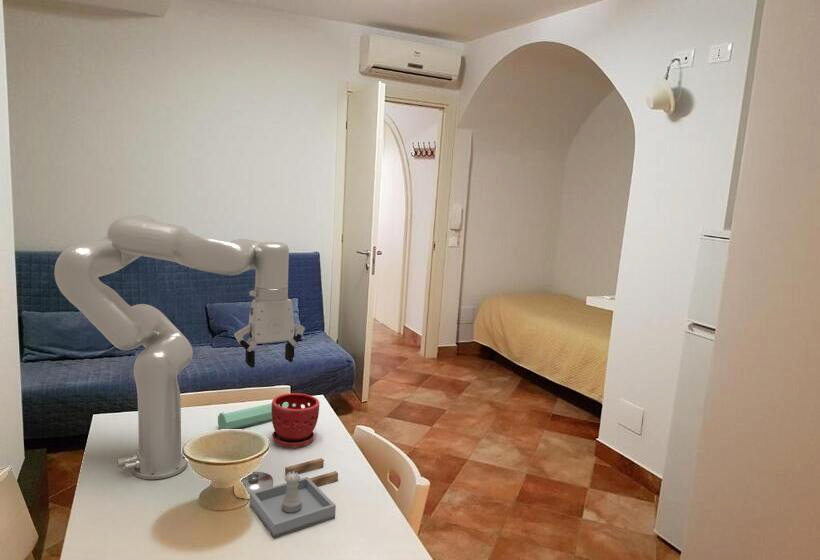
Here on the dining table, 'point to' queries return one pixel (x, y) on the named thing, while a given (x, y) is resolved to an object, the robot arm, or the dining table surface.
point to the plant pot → (294, 419)
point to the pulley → (257, 481)
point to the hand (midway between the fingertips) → (270, 363)
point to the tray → (283, 523)
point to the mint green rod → (247, 416)
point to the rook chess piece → (292, 494)
